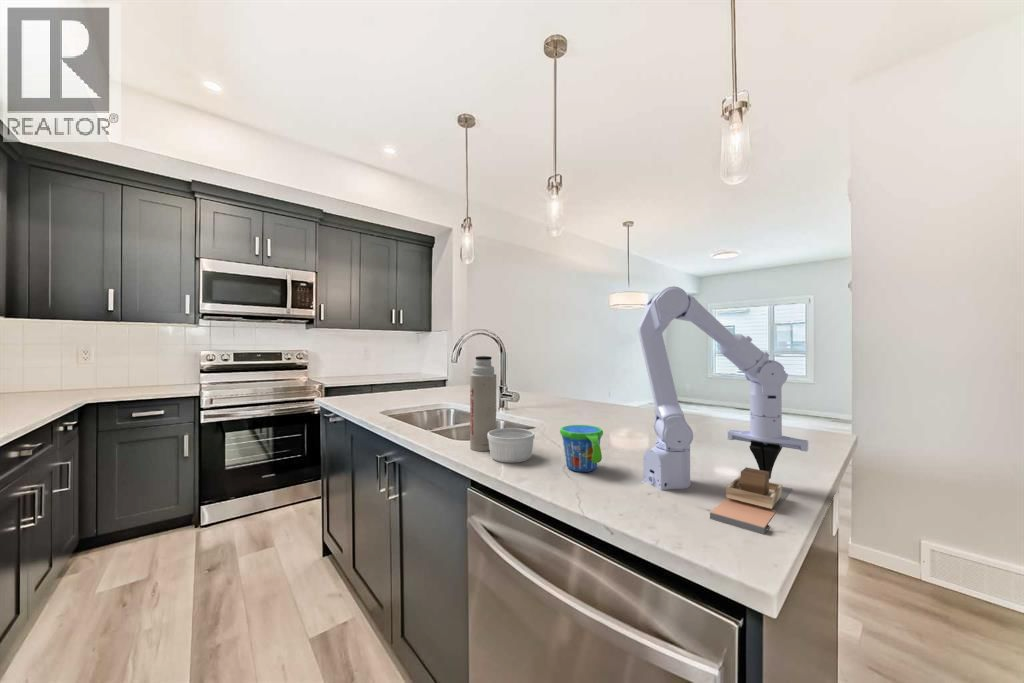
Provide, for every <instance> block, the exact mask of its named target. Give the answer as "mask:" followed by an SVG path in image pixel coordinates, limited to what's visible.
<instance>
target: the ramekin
mask: <svg viewBox="0 0 1024 683" xmlns="http://www.w3.org/2000/svg"><path fill="white" fill-rule="evenodd" d="M488 440H489V449H490V451H489V455H490V457H491V458H492V459H493V460H494V461H497V462H500V463H508V464H509V463H510V464H511V463H512V464H513V463H522V462H525V461H528V460H529V459H530V458H531V456H532V454H533V449H534V440H535V432H534V431H532V430H530V429H526V428H525V429H524V428H519V427H517V428H516V427H506V428H505V427H503V428H496V429H495V430H491V431H489V432H488Z"/></svg>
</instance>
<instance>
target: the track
mask: <svg viewBox="0 0 1024 683" xmlns="http://www.w3.org/2000/svg"><path fill="white" fill-rule="evenodd" d="M791 491H793V488H792V487H786V486H783V485H782V496H781V497H780V500H778V501H777V503H776V504H775V505H774V507H773V509H770V508H766V507H762V506H758V505H754V504H750V503H746V502H742V501H738V500H734V499H731V498H727V497H726V498H724V499H723V500H722V501H721V502H720V503H719V504H718V505H717V506H716V507H714V508H713V509H712V510H711V511H710V512H709V519H711V520H713V521H718V522H721V523H724V524H727V525H730V526H731V525H732V526H734V527H738V528H741V529H745V530H748V531H752V532H755V533H758V534H762V535H765V533H766V532H767V531H768V529H769V528H770V526H771V525H770V524H769V522H770V521H771V520H772V518H773V516H774V515H775V514H776V512H777V511H778V510H779V509H780V507H781V506H782V504H783V503H784V501H785V500H786V498H787V497H788V495H790V493H791Z"/></svg>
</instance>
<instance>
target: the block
mask: <svg viewBox="0 0 1024 683" xmlns="http://www.w3.org/2000/svg"><path fill="white" fill-rule="evenodd" d="M740 476H741V490H743V491H747V492H751V493H756V494H760V495H764V496H766V495H767V494H768V492H769V483H770V479H769V472H768V471H763V470H759V469H757V468H752V467H747V466H746V467H744V469H743V470H741V471H740Z"/></svg>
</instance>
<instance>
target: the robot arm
mask: <svg viewBox="0 0 1024 683" xmlns="http://www.w3.org/2000/svg"><path fill="white" fill-rule="evenodd" d="M675 319H676V320H680V321H686V322H689V323H690V322H691V324H693V325H695V326H696V328H697V327H698V328H699V329H700V330H701V331H702V332H703V333H705V334H706V335H708V337H710V338H711V339H712V340H714V341H715V342H717V343H718V344H719V348H720V349H719V350H720V354H722V356H724V358H726V359H728V360H729V362H730V363H732V364H733V365H734V366H735V367H737V368H738V369H739V370H740V371H741V372H742V373H744V374H743V375H744V377H745V379H746V380H747V381H749V389H750V392H749V411H750V412H749V415H750V416H749V423H750V424H749V429H750V431H749V430H747V431H746V430H735V429H729V430H727V440H728V441H740V442H745V443H746V442H747V443H750V445H749V450H750V451H751V453H752V455H753V457H754V459H755V461H756V465H757V466H758V468H759V469H758V470H763V471H768V472H769V480H771V478H772V472H773V469H774V465H775V462H776V461H777V458H778V456H779V455H780V453H781V450H782V449H783V448H787V449H790V450H791V449H792V450H800V451H801V452H808V450H809V440H808V439H801V438H795V437H791V436H786V435H783V432H782V430H783V423H782V422H783V421H782V420H783V418H782V416H783V415H782V412H783V410H782V408H783V407H782V406H783V405H782V404H783V402H782V401H783V400H782V397H783V396H782V387H783V385H784V384H785V383H786V381H787V380H788V377H789V374H788V373H787V372H786V370H785V367H784V366H783V364H782V363H781V362H779V361H777V360H774V359H773V360H772V359H770V354H769V353H768V352H766V351H764V352H763V351H762V350H761V349H760V348H758V347H757V346H756V345H755V344H754V343H753V342H752V341H753V338H752V337H750V335H743V334H742V333H735V334H734V333H732V332H730V330H729V329H728V328H727V327H726V326H724V325H723V324H722V323H721V322H720V321H719V320H718V319H717V318H716V317H715V316H714V315H712V313H710V312H709V311H708V310H707V309H706V308H705V307H704V306H703V305H702V304H701V303H700V302H699V301H698V300H697V299H696V298H695V297H694V296H692V295H690V294H687V292H686V291H685V290H684V289H683V288H681V287H679V286H675V285H674V286H668V287H666V288H664V289H662V290H661V291H659V292H657V293H655V294H654V295H653V296H652V298H650V299H649V300H648V302H647V303H646V304H645V308H644V311H643V314H642V317H641V319H640V322H639V324H638V327H637V333H638V337H639V341H640V345H641V350H642V354H643V358H644V363H645V366H646V372H647V376H648V380H649V385H650V389H651V392H652V397H653V401H654V415H655V419H654V423H653V428H654V432H655V434H656V436H658V437H657V438H656V440H655V442H654V444H655V445H654V446H652V448H650V449H646V451H645V452H644V453H643V454H644V455H643V480H641V484H645V483H647V484H648V485H650V486H652V487H654V488H656V489H658V490H660V491H666V490H674V489H678V490H680V489H687V488H690V487H691V444H692V442H693V440H694V431H693V429H692V427H691V426H690V425H689V424H688V422H687V421H686V419H685V415H684V413H683V410H682V408H681V406H680V403H679V399H678V395H677V390H676V386H675V383H674V378H673V374H672V371H671V370H672V369H671V366H670V361H669V358H668V357H669V356H668V352H667V349H666V345H665V340H664V336H663V333H664V331H665V330H666V329H667V327H668V326H669V325H670V324H671V322H672V321H673V320H675Z"/></svg>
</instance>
